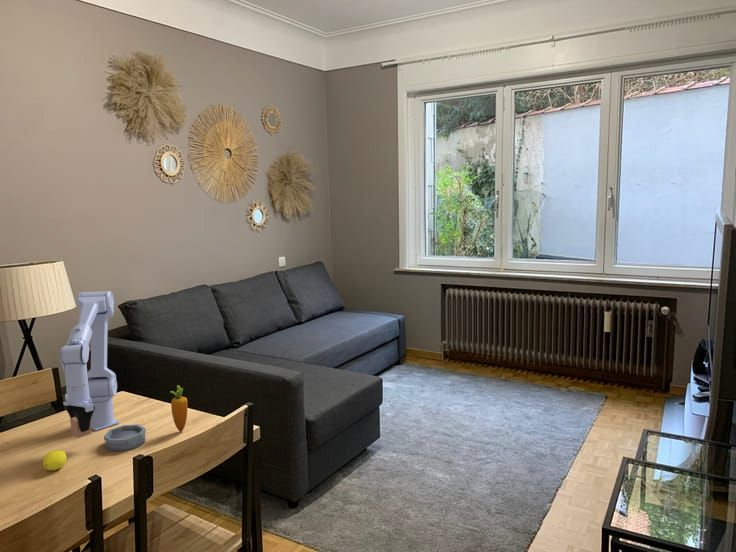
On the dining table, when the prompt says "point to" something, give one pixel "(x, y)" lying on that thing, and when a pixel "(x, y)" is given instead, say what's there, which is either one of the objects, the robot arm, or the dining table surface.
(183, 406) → the carrot
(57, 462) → the lemon
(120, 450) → the grey ashtray
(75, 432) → the block
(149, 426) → the dining table surface
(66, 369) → the robot arm
